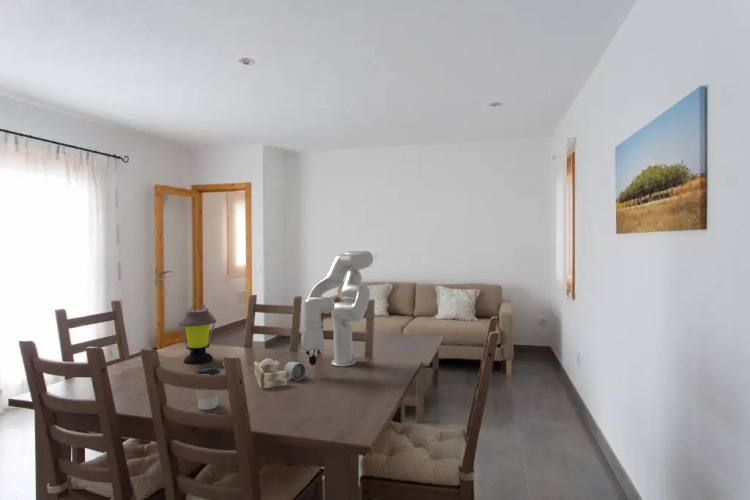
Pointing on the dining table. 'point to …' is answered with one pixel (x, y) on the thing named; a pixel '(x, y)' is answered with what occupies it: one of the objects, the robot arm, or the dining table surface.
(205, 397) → the coffee cup
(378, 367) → the dining table surface
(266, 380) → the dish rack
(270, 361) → the white plate
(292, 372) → the ceramic mug
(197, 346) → the lantern
